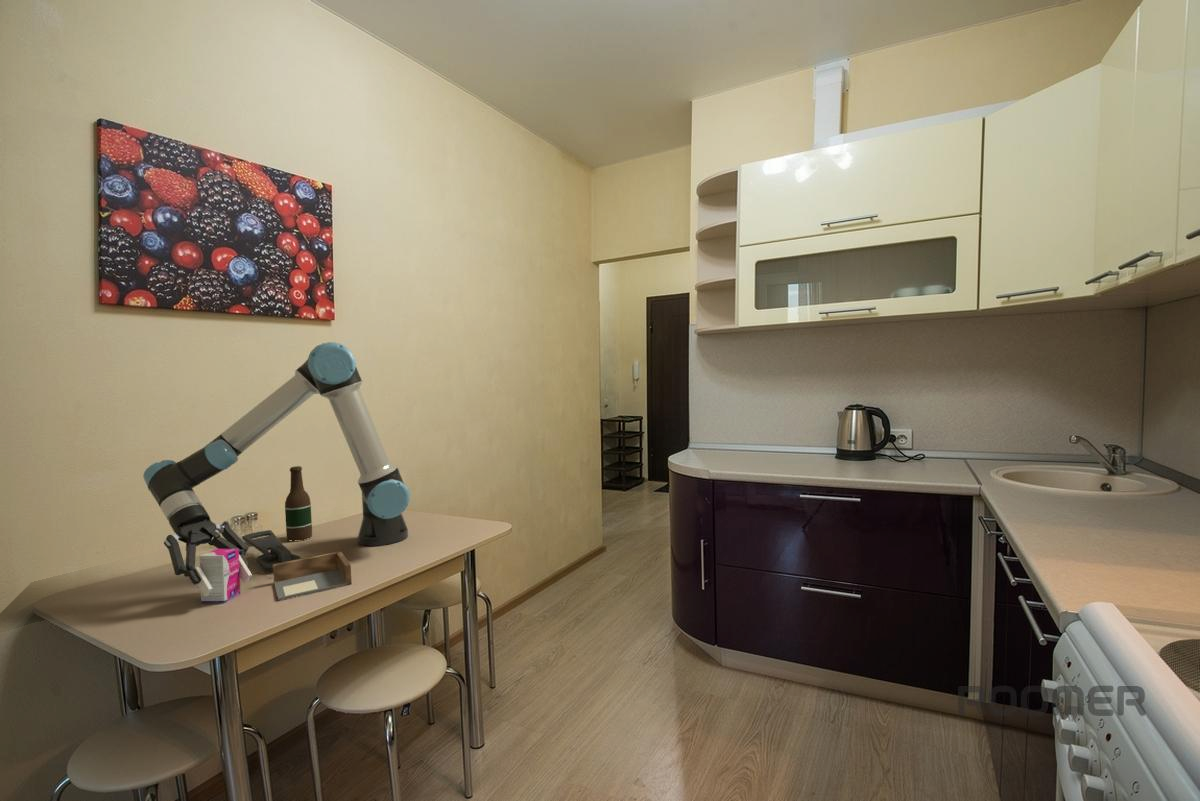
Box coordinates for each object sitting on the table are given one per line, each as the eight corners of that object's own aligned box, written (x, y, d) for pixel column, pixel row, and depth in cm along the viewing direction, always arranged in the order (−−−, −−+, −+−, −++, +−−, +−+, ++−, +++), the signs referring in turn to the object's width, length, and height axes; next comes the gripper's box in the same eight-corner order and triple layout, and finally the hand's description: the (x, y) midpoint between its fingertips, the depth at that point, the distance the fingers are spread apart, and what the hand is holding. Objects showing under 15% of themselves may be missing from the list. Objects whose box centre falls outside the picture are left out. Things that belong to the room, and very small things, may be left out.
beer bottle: (316, 537, 178) (312, 466, 177) (290, 543, 172) (286, 469, 171) (308, 533, 183) (304, 464, 182) (283, 539, 178) (278, 467, 176)
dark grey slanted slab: (272, 528, 166) (303, 543, 150) (273, 549, 167) (304, 566, 150) (238, 535, 160) (267, 551, 143) (240, 557, 160) (269, 575, 144)
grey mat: (341, 569, 147) (341, 566, 147) (351, 584, 135) (351, 581, 135) (273, 583, 138) (273, 580, 138) (278, 601, 126) (278, 598, 126)
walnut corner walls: (341, 569, 147) (340, 551, 147) (351, 584, 135) (350, 564, 135) (273, 583, 138) (272, 564, 137) (278, 601, 126) (277, 580, 126)
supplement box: (225, 603, 126) (222, 555, 125) (200, 604, 126) (197, 556, 125) (242, 593, 132) (239, 547, 131) (218, 594, 132) (215, 548, 131)
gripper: (224, 512, 144) (266, 579, 138) (129, 534, 125) (172, 612, 119) (235, 494, 142) (278, 561, 136) (140, 514, 123) (185, 592, 116)
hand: (229, 585), depth 127 cm, fingers open, 8 cm apart
